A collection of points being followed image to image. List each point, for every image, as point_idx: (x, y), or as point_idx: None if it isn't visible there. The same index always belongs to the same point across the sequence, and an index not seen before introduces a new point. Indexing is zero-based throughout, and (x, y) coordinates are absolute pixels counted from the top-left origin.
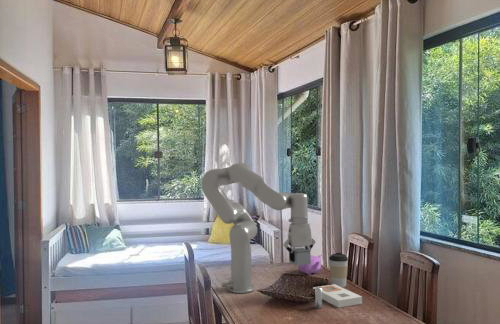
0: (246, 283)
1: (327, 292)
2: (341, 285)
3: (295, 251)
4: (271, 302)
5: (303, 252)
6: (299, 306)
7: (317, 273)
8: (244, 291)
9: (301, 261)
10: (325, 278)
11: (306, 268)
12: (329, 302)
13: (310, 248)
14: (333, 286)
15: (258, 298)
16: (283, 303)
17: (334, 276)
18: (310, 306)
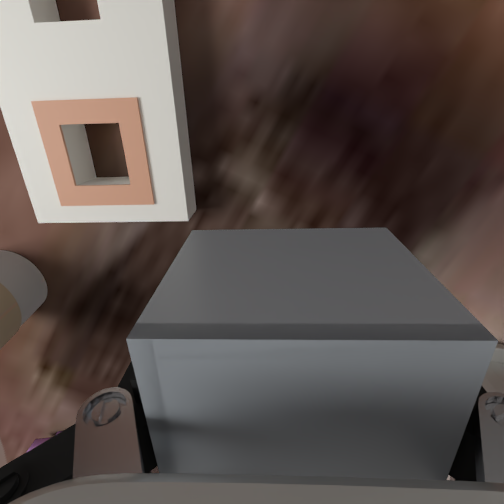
0: (496, 384)
1: (144, 90)
2: (1, 253)
3: (478, 387)
4: (473, 176)
5: (306, 322)
6: (380, 38)
7: (57, 432)
8: (499, 346)
9: (327, 246)
10: (45, 375)
11: None
12: (175, 19)
13: (78, 428)
14: (62, 182)
15: (486, 258)
16: (428, 132)
17: (2, 294)
18: (320, 6)
